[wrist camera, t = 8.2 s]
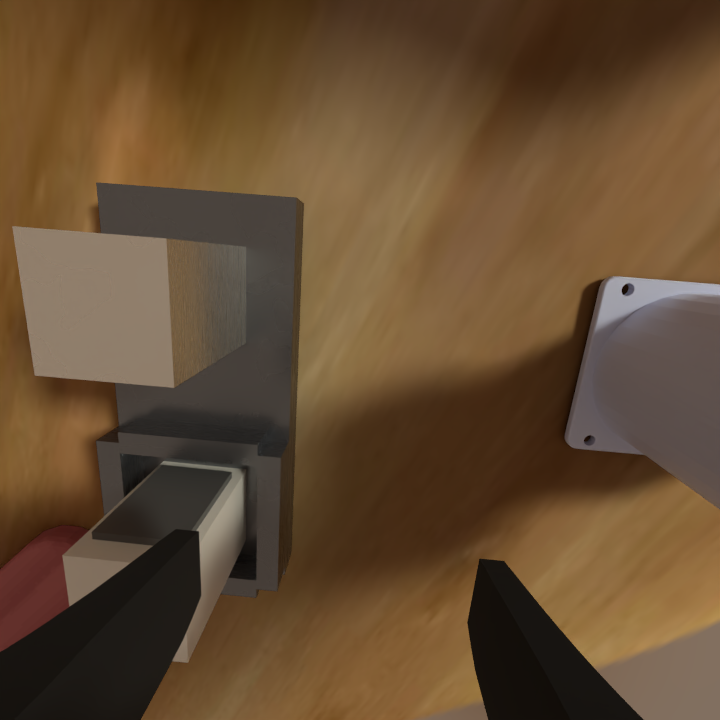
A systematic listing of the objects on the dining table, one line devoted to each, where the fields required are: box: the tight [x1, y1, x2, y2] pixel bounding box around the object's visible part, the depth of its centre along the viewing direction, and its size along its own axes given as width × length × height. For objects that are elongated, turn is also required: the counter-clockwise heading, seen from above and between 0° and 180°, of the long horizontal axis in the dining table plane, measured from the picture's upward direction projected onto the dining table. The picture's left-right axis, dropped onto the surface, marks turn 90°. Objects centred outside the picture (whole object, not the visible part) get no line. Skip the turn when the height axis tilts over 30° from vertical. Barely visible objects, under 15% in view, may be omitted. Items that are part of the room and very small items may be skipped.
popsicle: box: [0, 525, 89, 652], centre depth 22 cm, size 5×2×15 cm
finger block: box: [62, 461, 246, 663], centre depth 16 cm, size 4×4×6 cm
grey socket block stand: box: [12, 183, 304, 598], centre depth 15 cm, size 8×18×8 cm, turn 176°
